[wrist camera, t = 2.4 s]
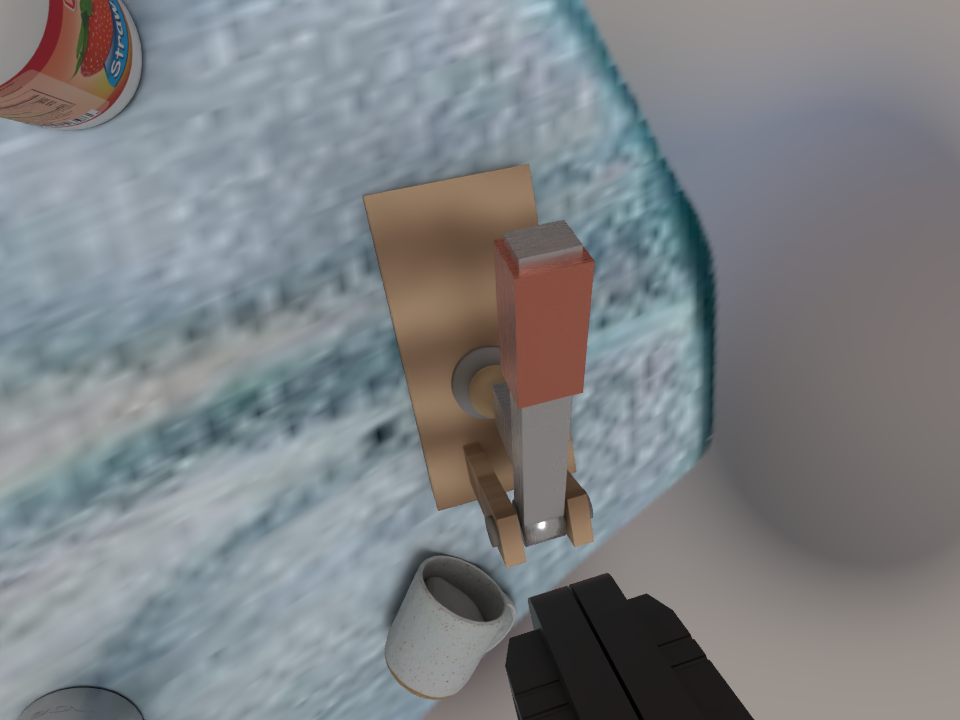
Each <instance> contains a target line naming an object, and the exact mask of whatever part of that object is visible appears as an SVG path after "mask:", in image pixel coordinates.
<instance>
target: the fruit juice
mask: <svg viewBox="0 0 960 720" xmlns="http://www.w3.org/2000/svg"><path fill="white" fill-rule="evenodd" d="M141 71H142V50H141V44H140V39H139V35H138V32H137V29H136V26H135V24H134V21H133V19H132V17H131V15H130V13H129V12H128V10H127V8H126V7H125V5H124V4H123V2H122V1H121V0H0V117H2V118H6V119H10V120H14V121H18V122H22V123H26V124H30V125H34V126H39V127H43V128H48V129H55V130H78V129H85V128H90V127H94V126H97V125H99V124H102V123H104V122H106V121H108V120H110V119H111V118H113V117H114V116H116V115H117V114H118V113H119V112H121V111H122V110H123V109H124V108H125V107H126V105H127V104H128V103H129V102H130V100H131V99H132V97H133V95H134V93H135V91H136V89H137V87H138V84H139V81H140V77H141Z"/></svg>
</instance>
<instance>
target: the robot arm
mask: <svg viewBox="0 0 960 720" xmlns="http://www.w3.org/2000/svg"><path fill="white" fill-rule="evenodd" d="M528 603H529V609H530V614H531V618H532V623H533V628H534V631H530V632H527V633H524V634H521V635H518V636H515V637H512V638H510V639H509V645H508V652H507V658H506V665H505V667H506V671H507V675H508V679H509V684H510V688H511V692H512V696H513V700H514V704H515V709H516V712H517V717H518V720H754V719H753V718H752V716H751V715H750V714H749V712H748V711H747V710H746V708H745V707H744V705H743V704H742V703H741V702H740V700H739V699H738V698H737V696H736V695H735V693H734V692H733V691H732V689H731V688H730V687H729V685H728V684H727V683H726V681H725V680H724V679H723V677H722V676H721V675H720V673H719V672H718V671H717V669H716V668H715V667H714V665H713V664H712V662H711V661H710V660H708V659H707V657H706V655H705V653H704V652H703V650H702V649H701V648H700V646H699V645H698V644H697V642H696V641H695V640H694V639H692V637H691V634H690V633H689V632H688V630H687V629H686V628H685V626H684V625H683V623H682V622H681V621H680V619H679V618H678V617H677V615H676V614H675V613H674V611H673V610H672V609H670V608H668V607H667V606H665V605H664V604H662V603H660V602H659V601H658V600H656V599H654V598H653V597H651V596H650V595H648V594H644V595H640V596H637V597H635V598H631V599H628V600H627V599H626V597H625V596H624V594H623V593H622V591H621V590H620V588H619V587H618V585H617V584H616V582H615V581H614V579H613V578H612V576H611V575H610V574H608V573H606V574H602V575H599V576H596V577H593V578H589V579H586V580H583V581H580V582H577V583H574V584H570V585H569V588H568V587H567V586H565V587H562V588H559V589H555V590H552V591H549V592H546V593H543V594H540V595H536V596H533V597H530V598H528ZM17 720H143V718H142V716H141V714H140V713H139V712H138V710H137V709H136V707H135V706H133V705H132V704H131V703H130V702H129V701H127V700H126V699H124V698H123V697H121V696H119V695H117V694H115V693H112V692H109V691H105V690H102V689H95V688H71V689H65V690H60V691H57V692H54V693H51V694H48V695H46V696H44V697H42V698H40V699H38V700H37V701H35V702H33V703H32V704H31V705H30V706H29V707H27V708H26V709H25V710H24V711H23V712H22V714H21V715H20V716H19V718H18V719H17Z"/></svg>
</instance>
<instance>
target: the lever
mask: <svg viewBox="0 0 960 720" xmlns="http://www.w3.org/2000/svg"><path fill="white" fill-rule="evenodd" d="M503 234H504V238H502V239H497V240H493V245H494V263H495V281H496V299H497V316H498V334H499V352H500V369H501V371H502V374H503V376H504V378H505V380H506V382H503V383H499V384H495V385H492V390H493V403H494V417H495V423H496V426H497V429H498V431H499V434H500V436H501V439H502V441H503V444H504V446H505V449H506V451H507V454H508V457H509V459H510V462H511V464H512V467H513V477H514V500H513V501H512V505H513V507H514V509H515V511H516V513H517V516H518V521H519V526H520V531H521V537H522V541H523V543H524V545H525V546H526V547H528V546H531V545H535V544H538V543H541V542H545V541H548V540H551V539H555V538H558V537H561V536H565V535H566V523H565V519H564V505H565V491H566V477H567V463H568V449H569V435H570V421H571V407H572V395H575V394H579V393H582V392H583V384H584V372H585V361H586V350H587V339H588V328H589V317H590V306H591V294H592V283H593V272H594V260H593V259H592V257H591V256H590V255H589V253H588V252H587V251H586V249H585V248H584V247H583V244H582V243H581V242H580V240H579V239H578V238H577V236H576V235H575V234H574V232H573V231H572V230H571V228H570V227H569V226H568V224H567V223H566V222H565V220H562V221H557V222H552V223H548V224H543V225H538V226H533V227H529V228H524V229H519V230H515V231H510V232H505V233H503Z"/></svg>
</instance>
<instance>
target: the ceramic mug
mask: <svg viewBox="0 0 960 720" xmlns="http://www.w3.org/2000/svg"><path fill="white" fill-rule="evenodd" d="M516 614H517V612H516V608H515V606H514V603H513V602H512V601H511V600H510V598H509V597H508V596H507V595H506V594H505V593H504V592H503V591H502V590H501V589H500V587H499V586H498V584H497V583H496V582H495V581H494V580H493V579H492V578H491V577H489V576H488V575H487V574H486V573H485V572H483V571H482V570H481V569H479V568H478V567H476V566H474V565H472V564H470V563H468V562H466V561H464V560H461V559H458V558H455V557H451V556H442V555H437V556H432V557H429V558H427V559H425V560H424V561H423V562H422V563H421V564H420V566H419V568H418V570H417V572H416V574H415V576H414V579H413V581H412V583H411V585H410V587H409V589H408V591H407V594H406V596H405V598H404V600H403V602H402V605H401V607H400V609H399V612H398V614H397V615H396V617H395V619H394V621H393V624H392V626H391V628H390V630H389V633H388V637H387V641H386V645H385V658H386V663H387V666H388V668H389V670H390V672H391V674H392V675H393V676H394V678H395V679H396V680H397V681H398V683H399V684H400V685H402V686H403V687H404V688H406V689H407V690H408V691H410V692H411V693H412V694H415V695H417V696H419V697H423V698H426V699H433V700H438V699H445V698H448V697H451V696H453V695H454V694H455V693H456V692H458V691H459V690H460V689H461V688H462V687H463V686H464V685H465V684H466V682H467V681H468V680H469V678H470V677H471V675H472V674H473V672H474V670H475V668H476V667H477V665H478V663H479V661H480V659H481V657H482V656H483V654H484V653H486V652H488V651H489V650H491V649H492V648H493V647H495V646H496V645H497V644H498V643H499V642H500V641H501V640H502V639H503V638H504V637H505V636H506V634H507V633H508V632H509V630H510V629H511V627H512V625H513V623H514V621H515V618H516Z"/></svg>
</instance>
